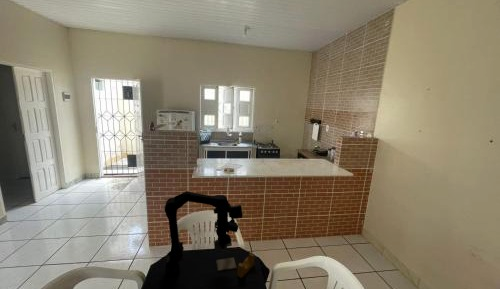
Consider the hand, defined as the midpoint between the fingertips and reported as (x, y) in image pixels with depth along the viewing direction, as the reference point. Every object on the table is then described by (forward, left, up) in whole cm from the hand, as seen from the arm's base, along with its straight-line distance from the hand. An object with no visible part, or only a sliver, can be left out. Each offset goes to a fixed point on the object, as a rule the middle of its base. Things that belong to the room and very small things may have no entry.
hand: (222, 246), depth 116 cm
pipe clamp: (+12, -6, -12) cm, 18 cm away
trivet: (+2, 0, -11) cm, 12 cm away
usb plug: (+1, 0, -1) cm, 2 cm away
